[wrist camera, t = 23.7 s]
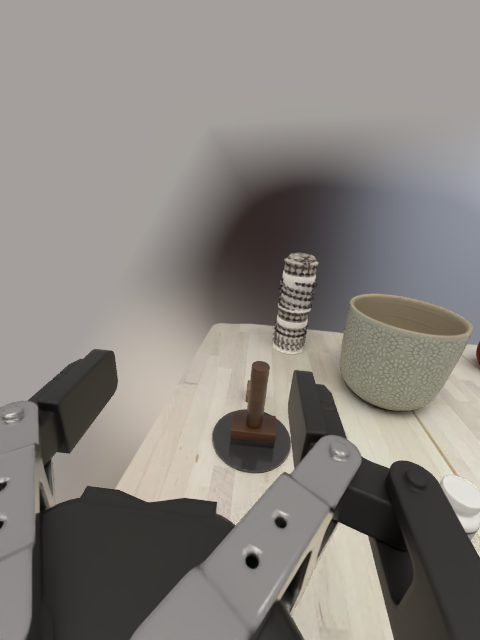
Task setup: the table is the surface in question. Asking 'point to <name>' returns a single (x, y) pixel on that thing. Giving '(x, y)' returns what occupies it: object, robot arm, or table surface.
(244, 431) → the wooden peg
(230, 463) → the plate
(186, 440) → the table surface
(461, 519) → the pill bottle
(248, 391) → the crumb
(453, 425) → the table surface
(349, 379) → the planter
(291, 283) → the white patterned cylinder
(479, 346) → the apple
